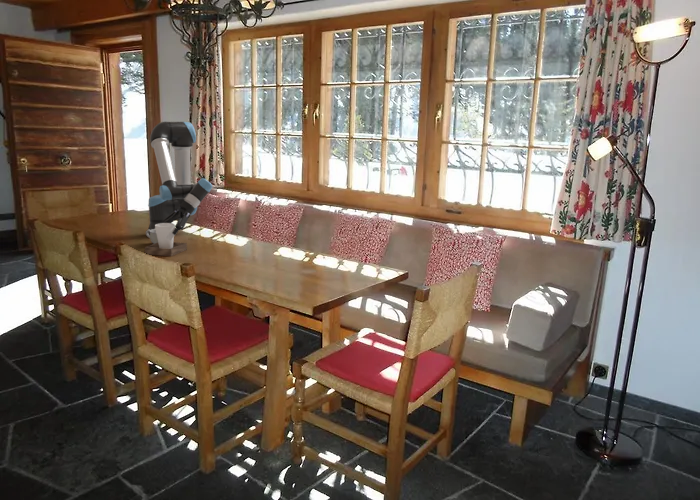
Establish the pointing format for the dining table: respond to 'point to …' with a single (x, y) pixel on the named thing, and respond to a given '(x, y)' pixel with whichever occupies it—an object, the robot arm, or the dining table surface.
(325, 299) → the dining table surface
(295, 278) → the dining table surface
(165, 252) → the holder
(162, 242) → the foam cup
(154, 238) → the teacup
